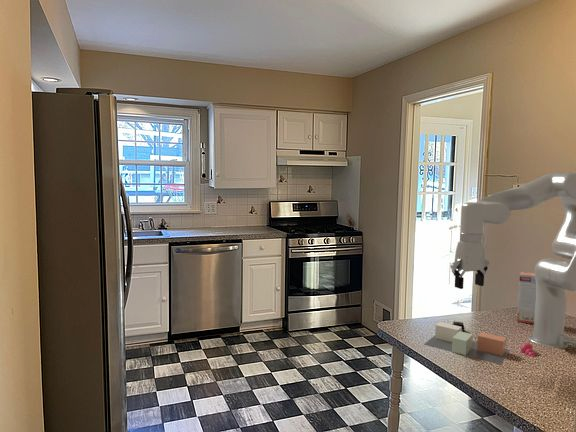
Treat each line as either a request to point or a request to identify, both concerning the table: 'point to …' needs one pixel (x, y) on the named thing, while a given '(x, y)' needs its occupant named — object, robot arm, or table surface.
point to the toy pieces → (528, 349)
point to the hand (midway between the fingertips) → (469, 286)
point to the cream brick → (446, 331)
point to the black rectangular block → (459, 325)
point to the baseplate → (472, 353)
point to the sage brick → (462, 343)
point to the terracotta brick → (491, 343)
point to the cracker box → (526, 298)
